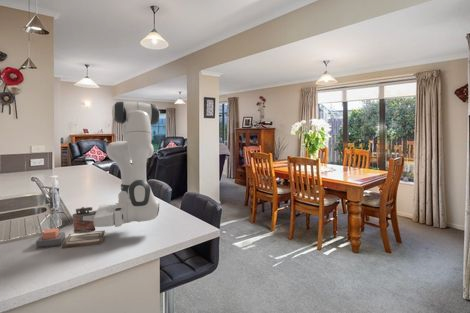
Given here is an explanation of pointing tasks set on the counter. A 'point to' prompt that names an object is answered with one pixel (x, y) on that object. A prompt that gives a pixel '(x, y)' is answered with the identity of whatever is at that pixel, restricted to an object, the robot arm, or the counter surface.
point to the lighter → (82, 225)
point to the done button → (51, 233)
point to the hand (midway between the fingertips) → (84, 216)
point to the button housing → (50, 241)
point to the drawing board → (83, 239)
